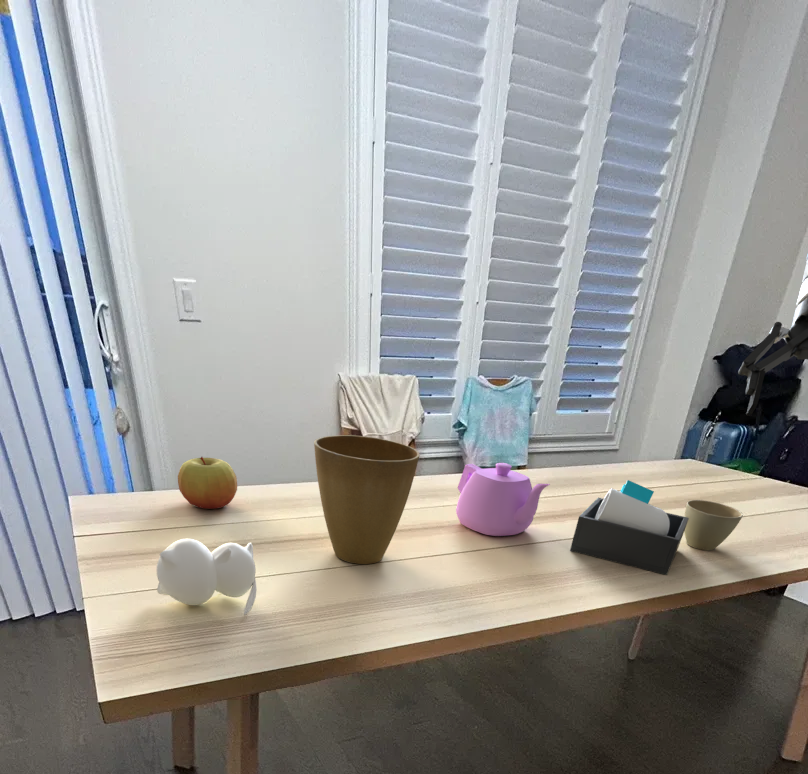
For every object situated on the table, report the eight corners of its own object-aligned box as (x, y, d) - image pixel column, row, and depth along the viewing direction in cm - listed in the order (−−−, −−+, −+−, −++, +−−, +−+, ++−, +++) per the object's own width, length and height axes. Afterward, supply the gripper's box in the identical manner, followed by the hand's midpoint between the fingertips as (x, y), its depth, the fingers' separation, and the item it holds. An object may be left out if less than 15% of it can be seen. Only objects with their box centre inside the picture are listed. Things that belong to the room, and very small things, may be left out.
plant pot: (373, 583, 90) (382, 465, 81) (291, 554, 95) (291, 441, 86) (425, 556, 101) (438, 450, 92) (349, 532, 106) (354, 429, 97)
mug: (687, 500, 104) (620, 471, 105) (663, 552, 105) (596, 524, 106) (664, 516, 116) (604, 490, 116) (642, 562, 117) (582, 537, 117)
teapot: (510, 551, 107) (524, 484, 100) (432, 515, 119) (440, 453, 112) (559, 540, 114) (575, 477, 108) (481, 507, 126) (491, 449, 120)
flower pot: (669, 546, 119) (683, 507, 115) (677, 533, 126) (690, 496, 122) (725, 559, 115) (741, 520, 111) (729, 545, 123) (744, 508, 119)
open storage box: (677, 549, 117) (689, 517, 114) (666, 575, 105) (679, 540, 102) (589, 528, 122) (598, 497, 119) (569, 550, 110) (578, 516, 107)
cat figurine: (253, 520, 78) (151, 523, 72) (277, 592, 75) (172, 601, 69) (242, 563, 85) (148, 568, 80) (263, 631, 82) (167, 641, 77)
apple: (174, 497, 112) (169, 449, 107) (229, 495, 116) (227, 449, 111) (187, 515, 105) (182, 465, 100) (245, 512, 109) (243, 463, 105)
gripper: (886, 338, 108) (864, 446, 105) (735, 316, 113) (708, 419, 110) (915, 301, 101) (892, 415, 98) (751, 279, 106) (724, 388, 102)
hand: (795, 417), depth 104 cm, fingers open, 13 cm apart
